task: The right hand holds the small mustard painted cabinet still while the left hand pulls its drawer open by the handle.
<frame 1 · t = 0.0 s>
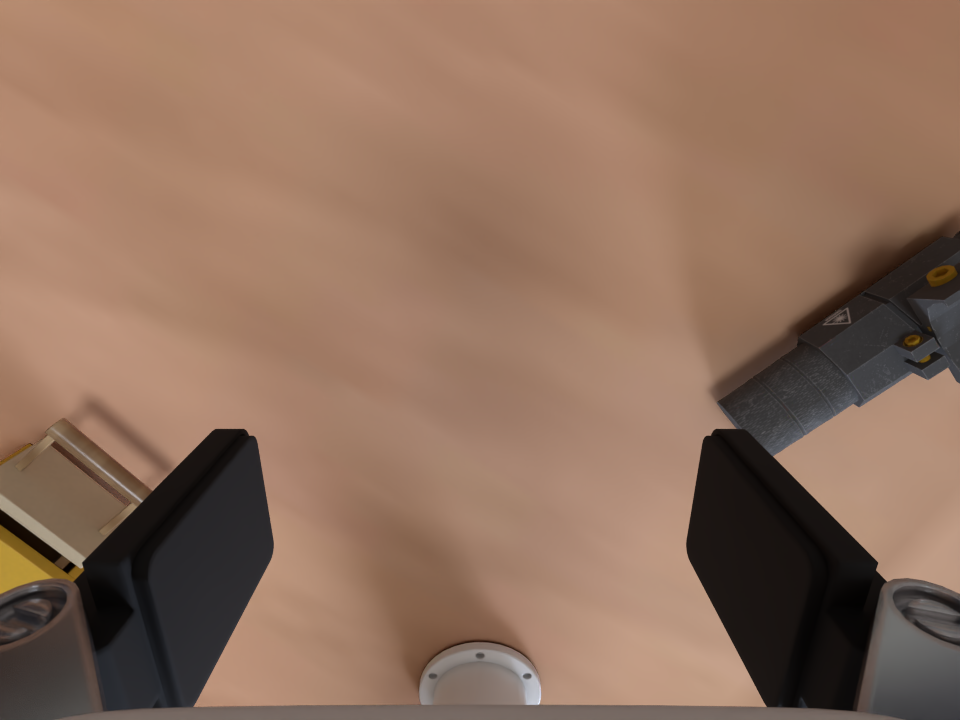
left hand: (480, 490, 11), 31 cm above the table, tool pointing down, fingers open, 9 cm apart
drawer: (25, 533, 45), point 4 cm above the table, slide at 1.1 cm
laser sight: (844, 328, 43), on the table
cabinet: (22, 538, 50), on the table
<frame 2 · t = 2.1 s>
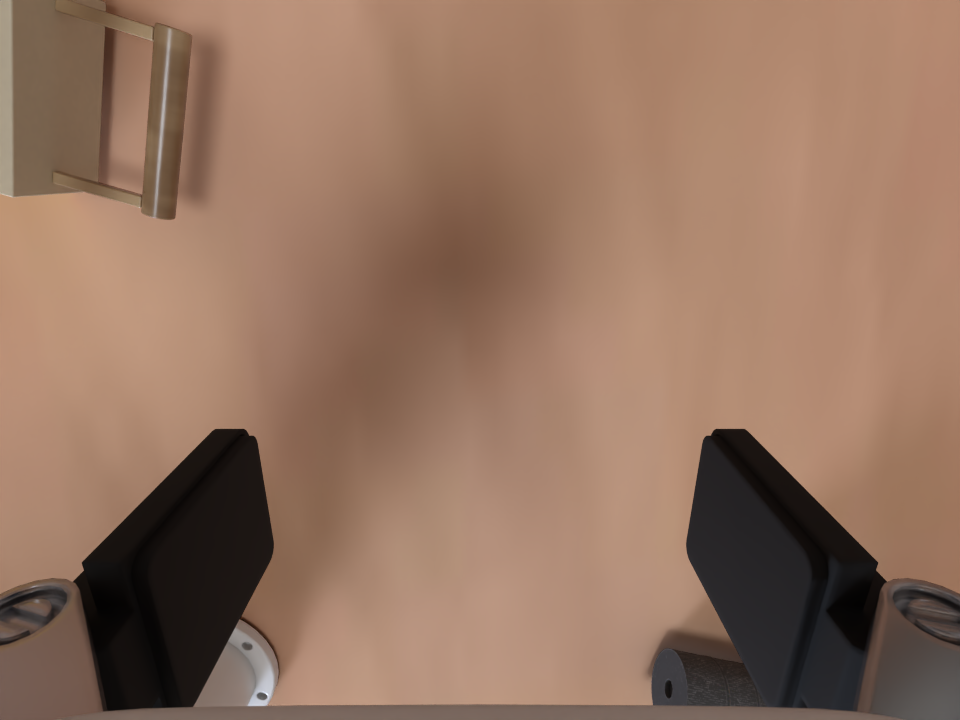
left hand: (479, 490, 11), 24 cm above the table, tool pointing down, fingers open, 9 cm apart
laser sight: (779, 677, 46), on the table
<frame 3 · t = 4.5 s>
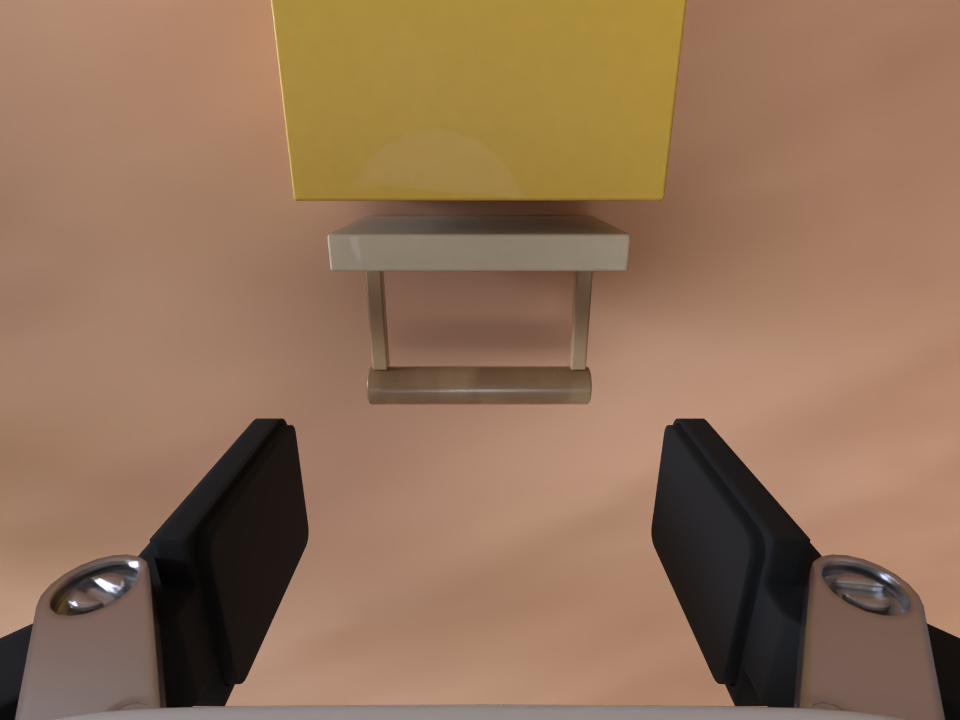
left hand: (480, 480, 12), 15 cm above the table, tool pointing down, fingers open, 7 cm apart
drawer: (478, 95, 18), point 4 cm above the table, slide at 1.1 cm
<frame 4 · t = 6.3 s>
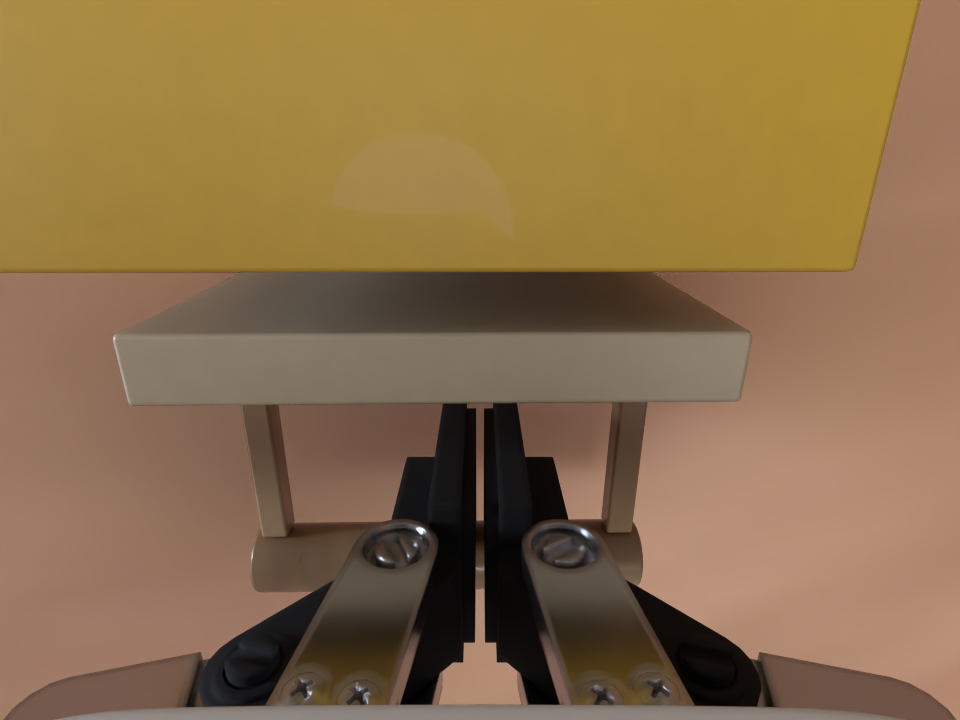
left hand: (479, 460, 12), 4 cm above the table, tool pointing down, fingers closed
drawer: (439, 48, 9), point 4 cm above the table, slide at 1.1 cm, touching left hand
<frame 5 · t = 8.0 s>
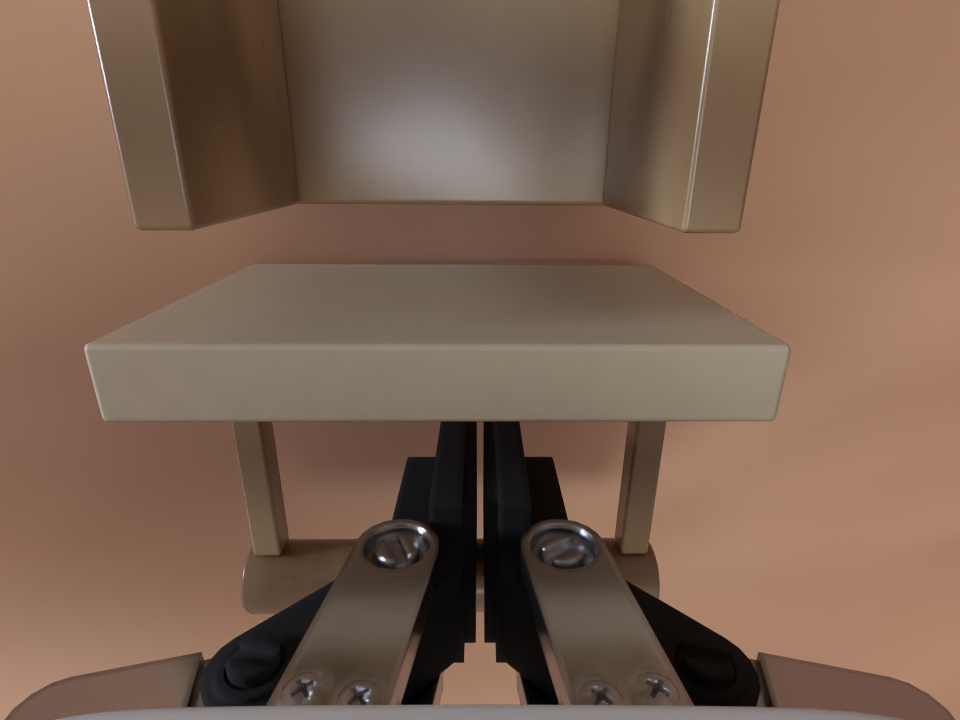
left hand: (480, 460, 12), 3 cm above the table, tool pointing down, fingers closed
drawer: (446, 31, 9), point 4 cm above the table, slide at 9.4 cm, touching left hand
when the right hand's fingers open (3 cm above the table, at t = 9.9 s): cabinet stays where it is, on the table.
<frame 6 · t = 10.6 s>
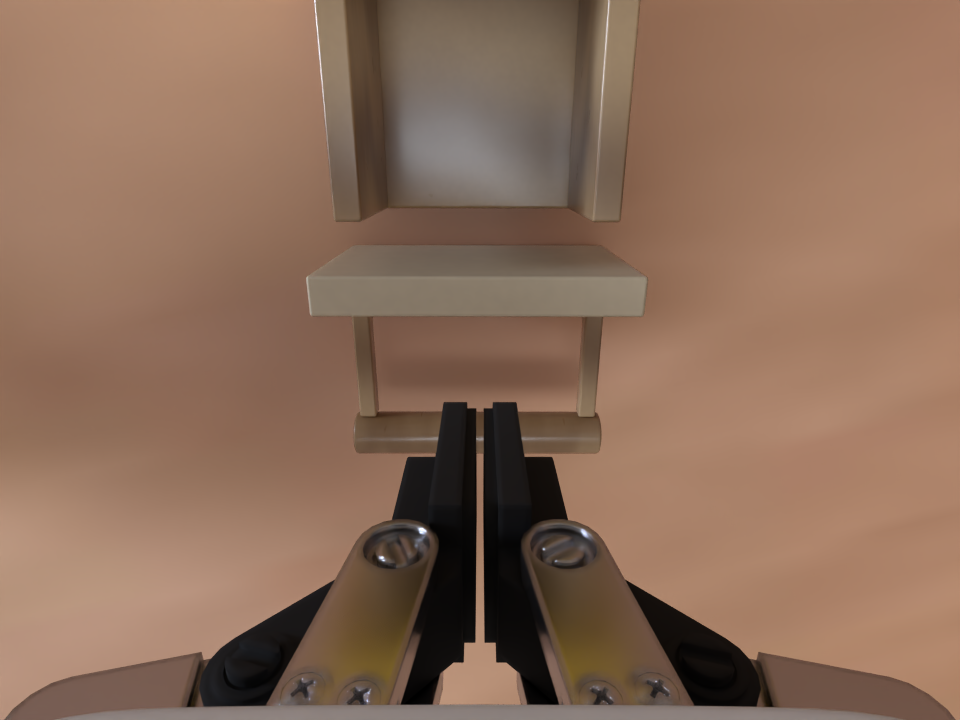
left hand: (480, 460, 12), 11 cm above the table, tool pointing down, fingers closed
drawer: (477, 118, 16), point 4 cm above the table, slide at 9.4 cm
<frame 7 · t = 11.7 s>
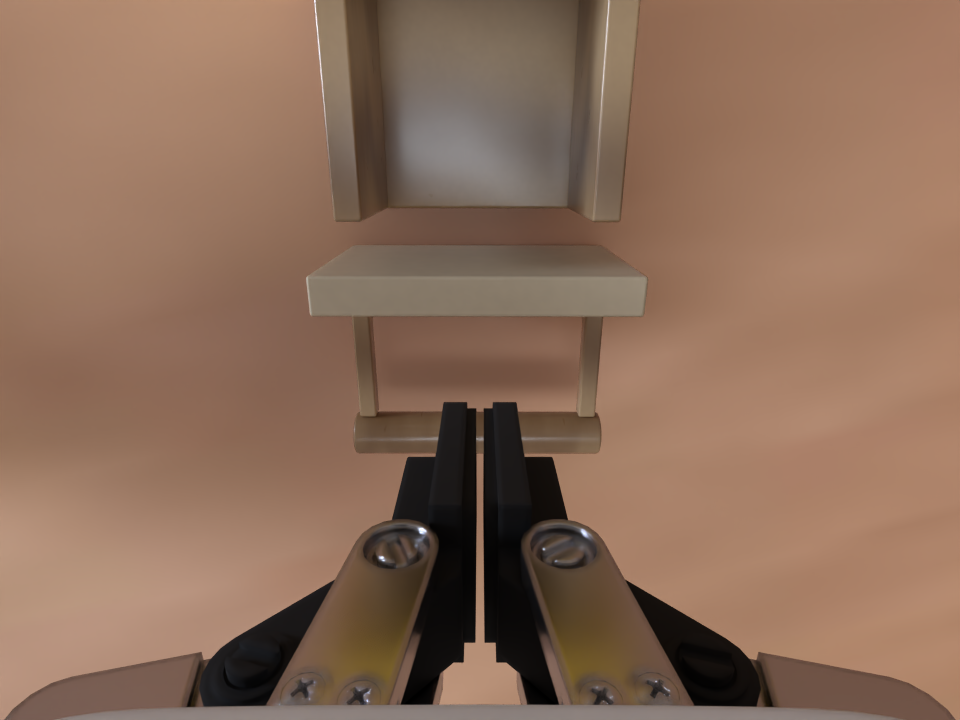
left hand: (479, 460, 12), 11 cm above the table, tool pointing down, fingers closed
drawer: (477, 118, 16), point 4 cm above the table, slide at 9.4 cm
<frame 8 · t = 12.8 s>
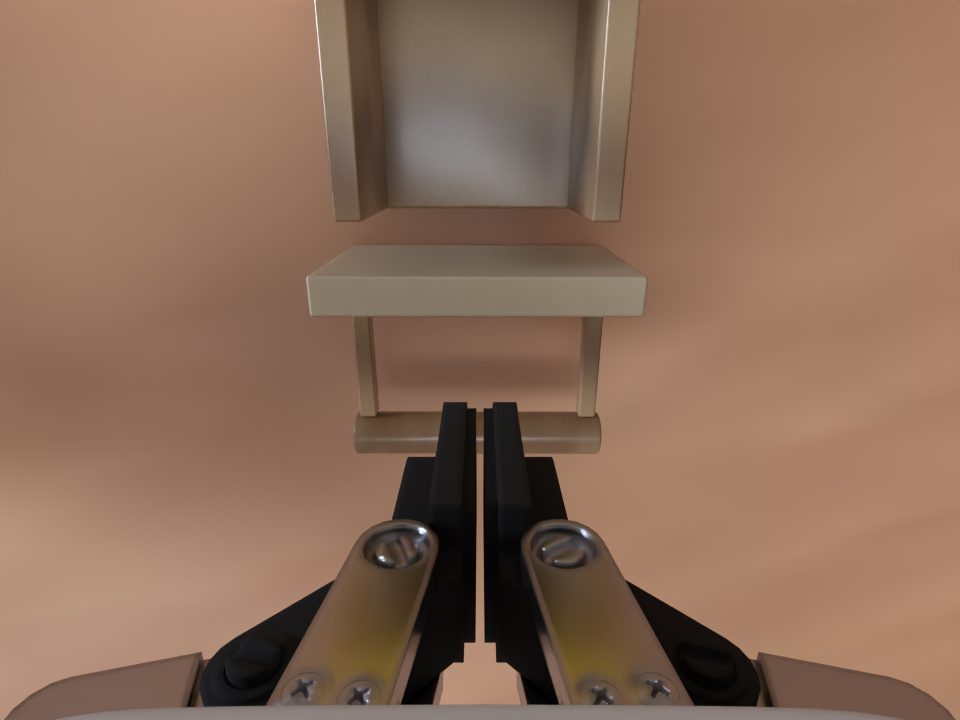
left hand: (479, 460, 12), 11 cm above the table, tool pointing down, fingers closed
drawer: (477, 118, 16), point 4 cm above the table, slide at 9.4 cm
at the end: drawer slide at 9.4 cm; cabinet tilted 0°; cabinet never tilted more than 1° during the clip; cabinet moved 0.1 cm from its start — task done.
